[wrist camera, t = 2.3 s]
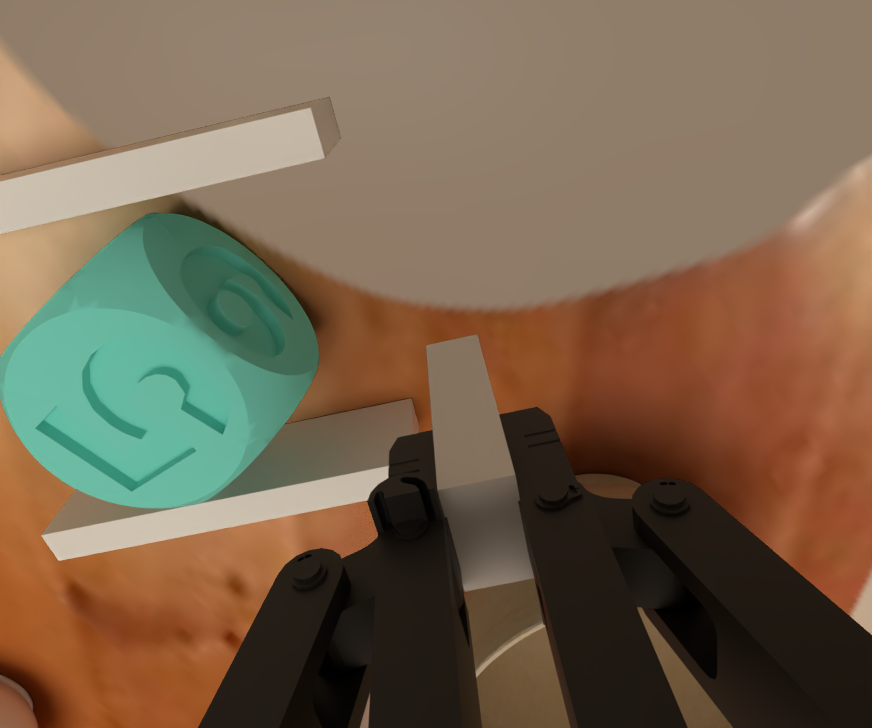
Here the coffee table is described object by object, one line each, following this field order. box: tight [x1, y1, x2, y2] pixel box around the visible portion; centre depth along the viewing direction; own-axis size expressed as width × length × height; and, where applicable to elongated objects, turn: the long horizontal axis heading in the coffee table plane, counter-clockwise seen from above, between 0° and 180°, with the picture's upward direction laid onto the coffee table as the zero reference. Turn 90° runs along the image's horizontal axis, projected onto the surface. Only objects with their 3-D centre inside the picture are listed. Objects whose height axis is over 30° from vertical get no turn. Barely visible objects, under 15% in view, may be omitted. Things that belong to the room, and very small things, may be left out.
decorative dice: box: [0, 213, 319, 508], centre depth 23 cm, size 8×8×8 cm
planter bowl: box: [464, 474, 733, 728], centre depth 29 cm, size 16×16×11 cm
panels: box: [0, 97, 419, 561], centre depth 24 cm, size 16×15×5 cm
